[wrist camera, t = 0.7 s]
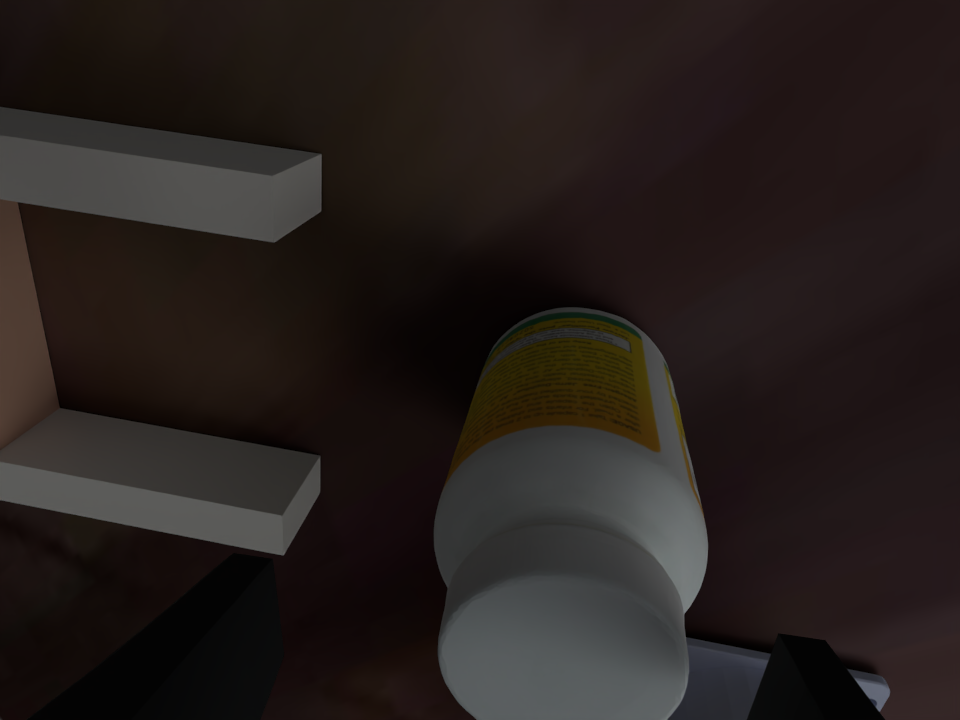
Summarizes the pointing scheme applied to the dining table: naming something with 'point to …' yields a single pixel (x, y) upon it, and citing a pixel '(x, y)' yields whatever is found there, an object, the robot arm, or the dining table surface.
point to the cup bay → (116, 442)
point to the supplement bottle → (570, 529)
